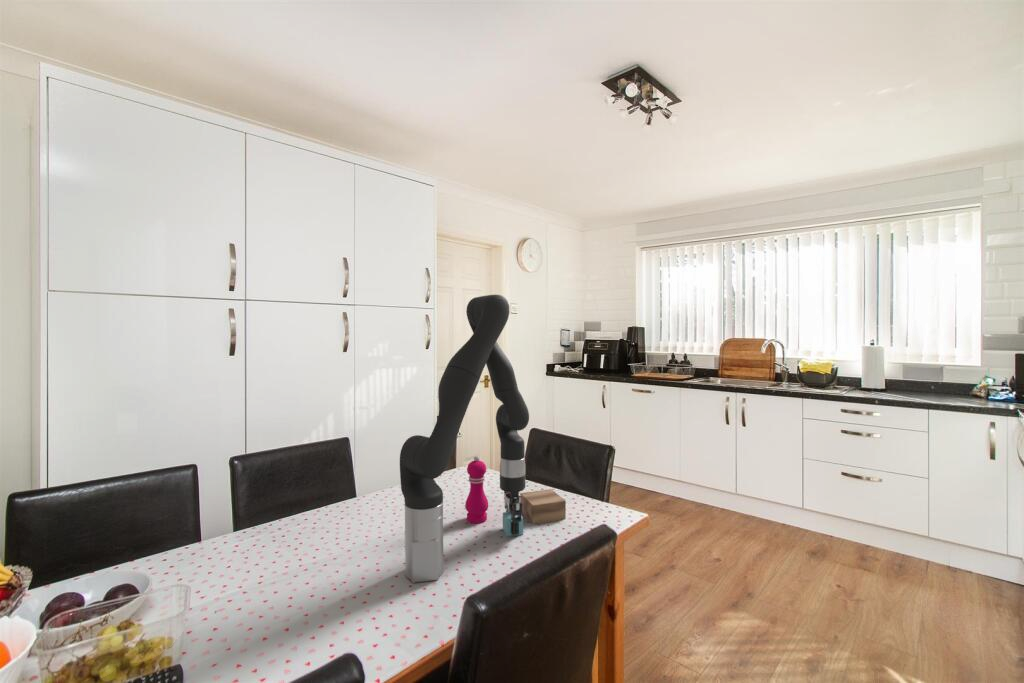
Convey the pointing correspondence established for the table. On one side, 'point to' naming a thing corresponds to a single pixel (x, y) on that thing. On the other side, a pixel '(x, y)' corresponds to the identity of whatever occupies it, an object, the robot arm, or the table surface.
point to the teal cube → (508, 524)
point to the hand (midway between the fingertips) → (512, 529)
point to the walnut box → (543, 506)
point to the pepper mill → (476, 492)
